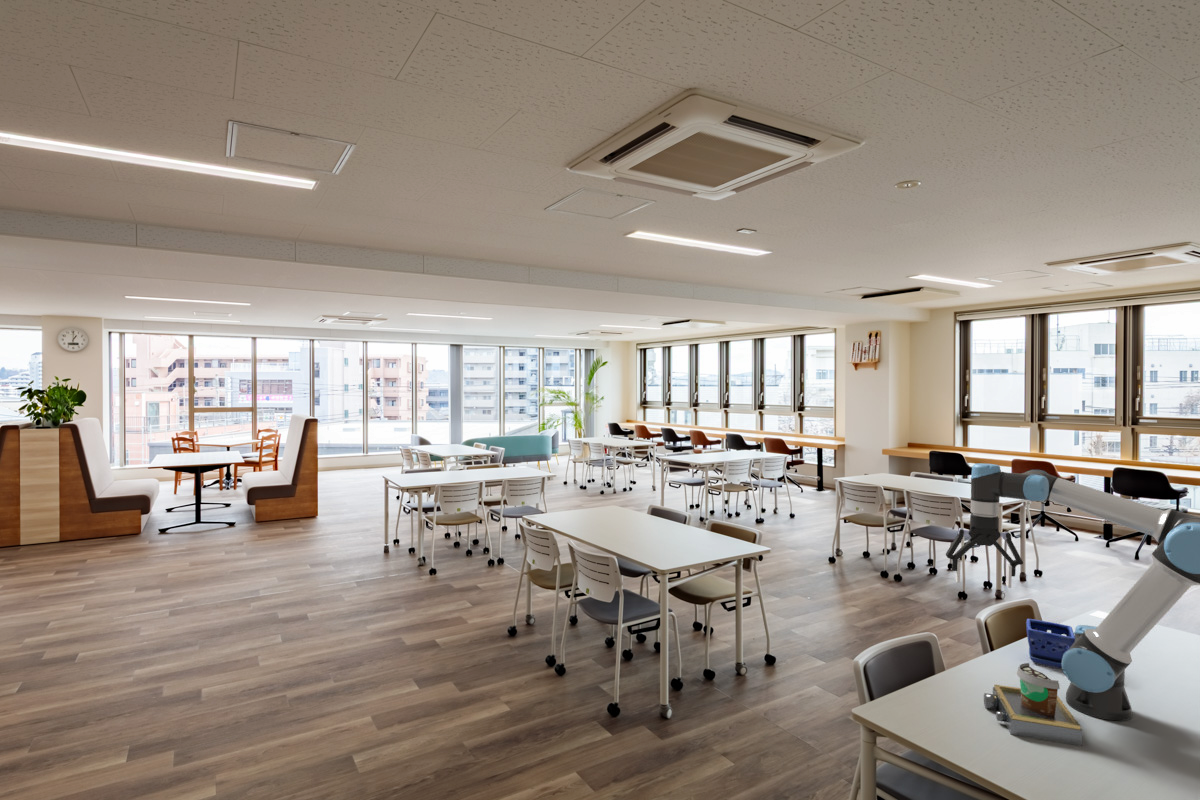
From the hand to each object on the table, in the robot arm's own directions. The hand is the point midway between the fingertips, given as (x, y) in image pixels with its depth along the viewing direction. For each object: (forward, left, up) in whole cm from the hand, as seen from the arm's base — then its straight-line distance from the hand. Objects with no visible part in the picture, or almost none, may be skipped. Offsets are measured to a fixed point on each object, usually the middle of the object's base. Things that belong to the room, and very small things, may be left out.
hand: (982, 584), depth 198 cm
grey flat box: (-8, +16, -33) cm, 37 cm away
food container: (-9, +16, -29) cm, 34 cm away
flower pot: (-27, -33, -33) cm, 54 cm away
